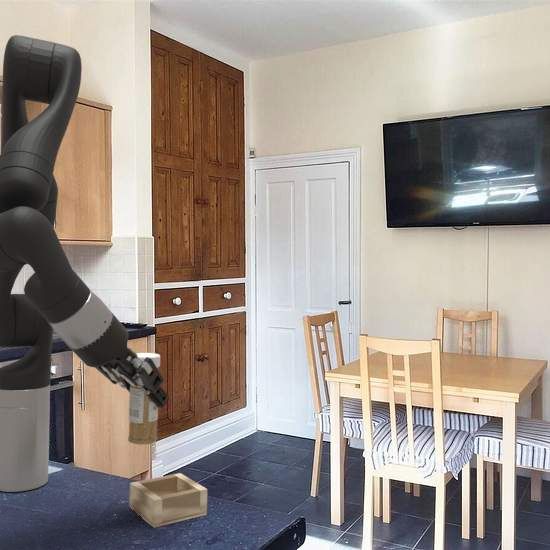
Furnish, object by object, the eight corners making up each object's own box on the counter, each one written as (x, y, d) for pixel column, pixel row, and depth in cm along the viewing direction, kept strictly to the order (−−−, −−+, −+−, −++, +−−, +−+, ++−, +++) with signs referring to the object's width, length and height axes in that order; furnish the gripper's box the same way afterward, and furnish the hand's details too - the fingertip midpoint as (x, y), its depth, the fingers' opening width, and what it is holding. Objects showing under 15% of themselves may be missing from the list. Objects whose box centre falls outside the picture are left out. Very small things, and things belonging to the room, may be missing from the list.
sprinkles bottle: (162, 443, 94) (165, 355, 94) (133, 446, 92) (136, 356, 92) (151, 435, 98) (154, 351, 98) (123, 439, 96) (126, 352, 96)
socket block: (129, 507, 99) (130, 483, 99) (179, 496, 104) (180, 473, 104) (153, 527, 91) (154, 500, 91) (206, 514, 97) (207, 489, 97)
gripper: (135, 311, 85) (198, 388, 94) (78, 304, 94) (140, 375, 103) (100, 353, 81) (170, 429, 90) (44, 341, 90) (112, 411, 99)
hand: (154, 399), depth 97 cm, fingers closed on sprinkles bottle, 4 cm apart
